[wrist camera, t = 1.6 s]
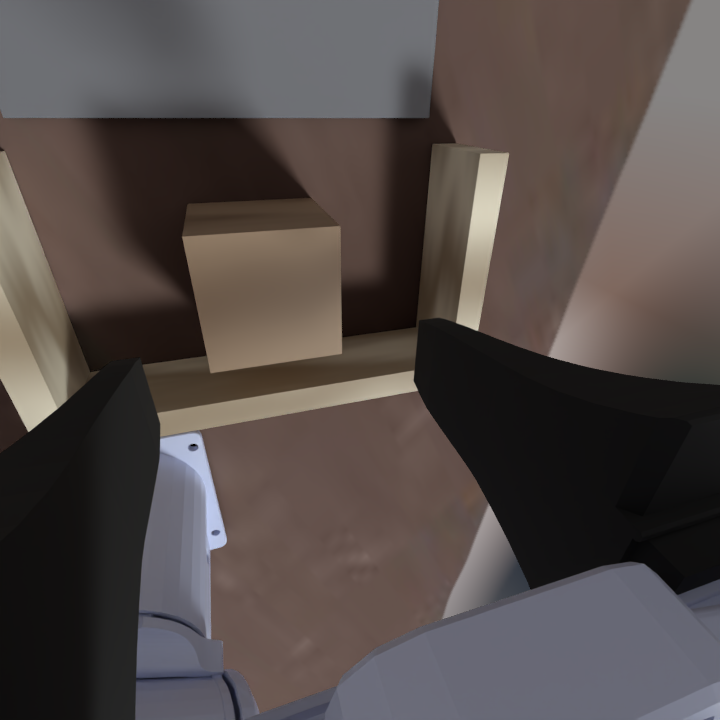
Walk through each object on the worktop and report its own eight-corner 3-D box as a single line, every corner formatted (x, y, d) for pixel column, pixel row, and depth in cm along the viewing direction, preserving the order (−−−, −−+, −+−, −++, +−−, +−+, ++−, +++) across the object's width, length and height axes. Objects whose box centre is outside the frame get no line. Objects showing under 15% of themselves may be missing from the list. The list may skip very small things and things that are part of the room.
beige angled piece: (433, 343, 24) (468, 381, 21) (69, 397, 19) (41, 457, 16) (457, 143, 19) (509, 152, 16) (-38, 151, 14) (-111, 168, 11)
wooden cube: (315, 303, 21) (342, 353, 17) (209, 316, 20) (210, 373, 16) (310, 197, 18) (340, 225, 14) (187, 203, 17) (182, 236, 13)
